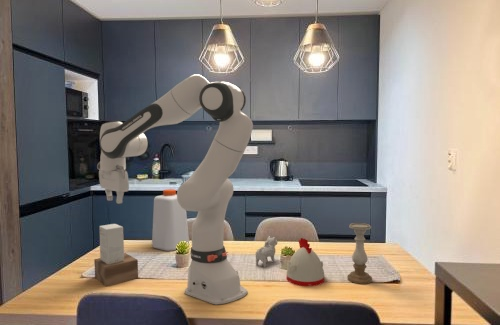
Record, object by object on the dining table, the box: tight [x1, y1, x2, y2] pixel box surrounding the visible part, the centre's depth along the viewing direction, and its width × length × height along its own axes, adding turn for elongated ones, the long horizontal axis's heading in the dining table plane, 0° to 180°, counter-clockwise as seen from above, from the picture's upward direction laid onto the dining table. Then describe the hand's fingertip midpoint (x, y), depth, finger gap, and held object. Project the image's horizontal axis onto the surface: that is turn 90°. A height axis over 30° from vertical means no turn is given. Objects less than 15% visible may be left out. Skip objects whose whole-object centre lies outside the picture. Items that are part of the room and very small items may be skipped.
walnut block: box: [93, 252, 139, 287], centre depth 139 cm, size 12×12×7 cm
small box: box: [99, 223, 125, 264], centre depth 138 cm, size 8×6×13 cm
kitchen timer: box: [286, 237, 325, 287], centre depth 136 cm, size 14×14×15 cm
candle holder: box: [347, 222, 373, 285], centre depth 134 cm, size 9×9×20 cm
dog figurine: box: [255, 235, 278, 268], centre depth 155 cm, size 5×13×11 cm, turn 144°
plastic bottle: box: [151, 188, 190, 252], centre depth 180 cm, size 15×15×28 cm
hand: (114, 201), depth 138 cm, fingers open, 8 cm apart
